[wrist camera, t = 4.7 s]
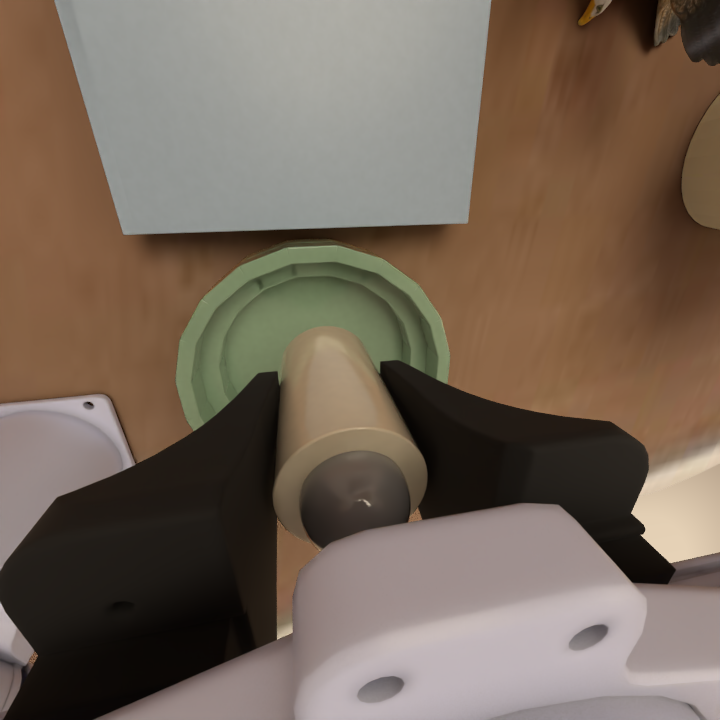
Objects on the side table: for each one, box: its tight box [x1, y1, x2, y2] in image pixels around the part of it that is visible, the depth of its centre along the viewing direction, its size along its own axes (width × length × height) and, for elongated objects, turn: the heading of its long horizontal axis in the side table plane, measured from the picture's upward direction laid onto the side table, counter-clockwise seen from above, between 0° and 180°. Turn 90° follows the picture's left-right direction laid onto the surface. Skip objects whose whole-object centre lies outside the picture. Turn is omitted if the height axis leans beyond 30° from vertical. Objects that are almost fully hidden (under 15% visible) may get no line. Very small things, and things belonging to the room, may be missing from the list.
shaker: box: [272, 326, 428, 552], centre depth 10 cm, size 4×4×8 cm
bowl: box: [175, 238, 450, 431], centre depth 19 cm, size 14×14×4 cm
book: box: [54, 0, 491, 235], centre depth 15 cm, size 16×11×2 cm
